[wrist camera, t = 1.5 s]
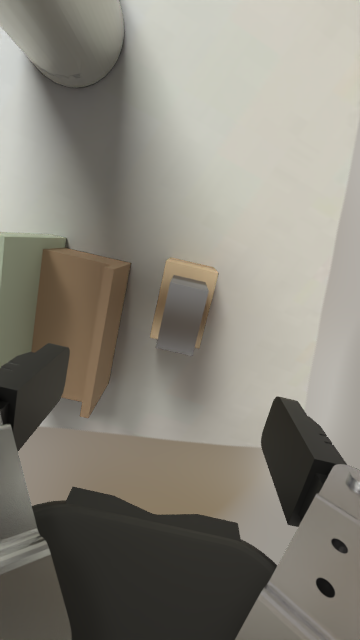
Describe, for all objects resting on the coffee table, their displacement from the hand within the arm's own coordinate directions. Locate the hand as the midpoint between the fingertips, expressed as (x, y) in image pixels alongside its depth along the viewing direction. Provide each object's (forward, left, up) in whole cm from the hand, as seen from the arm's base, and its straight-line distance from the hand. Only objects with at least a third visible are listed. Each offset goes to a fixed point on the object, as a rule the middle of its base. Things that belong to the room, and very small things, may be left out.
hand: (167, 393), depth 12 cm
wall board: (+5, -10, -22) cm, 25 cm away
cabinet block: (0, 0, -22) cm, 22 cm away
